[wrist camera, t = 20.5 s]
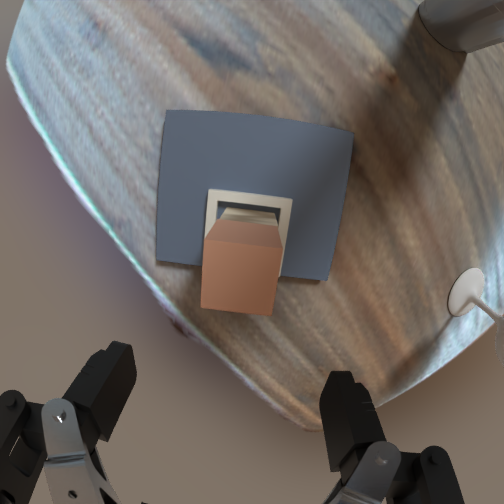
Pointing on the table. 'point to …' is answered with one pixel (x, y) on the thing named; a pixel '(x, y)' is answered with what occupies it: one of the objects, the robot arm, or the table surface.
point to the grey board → (252, 184)
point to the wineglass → (475, 303)
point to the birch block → (249, 216)
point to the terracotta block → (241, 267)
